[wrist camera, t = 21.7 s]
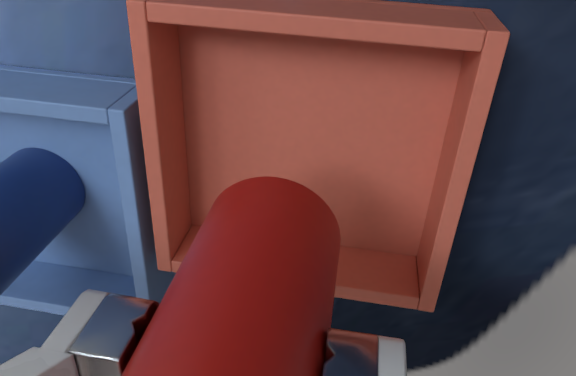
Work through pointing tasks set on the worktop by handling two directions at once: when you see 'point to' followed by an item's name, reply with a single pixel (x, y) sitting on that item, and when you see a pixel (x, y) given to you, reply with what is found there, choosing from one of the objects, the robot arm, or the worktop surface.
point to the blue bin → (85, 186)
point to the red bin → (320, 122)
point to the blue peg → (34, 207)
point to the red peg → (249, 289)
